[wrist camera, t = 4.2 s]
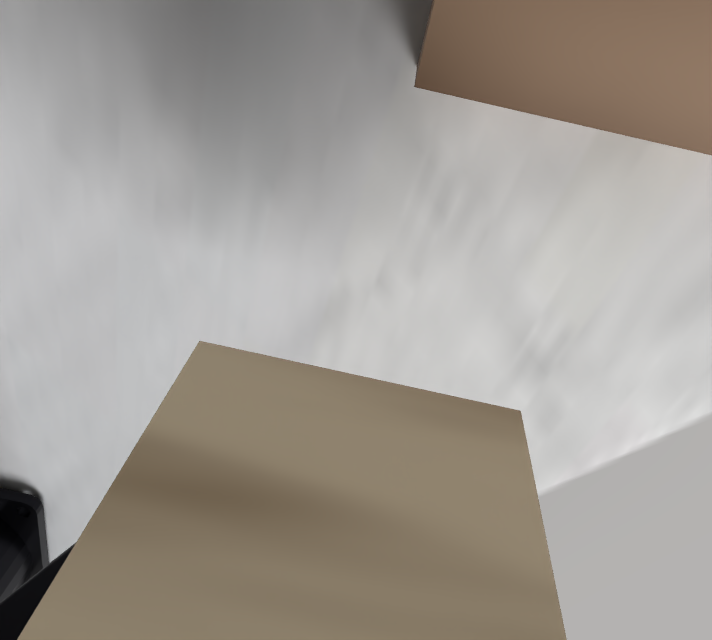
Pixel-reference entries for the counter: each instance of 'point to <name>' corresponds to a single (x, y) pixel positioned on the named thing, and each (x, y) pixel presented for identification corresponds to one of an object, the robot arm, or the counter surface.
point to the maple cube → (311, 517)
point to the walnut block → (580, 62)
